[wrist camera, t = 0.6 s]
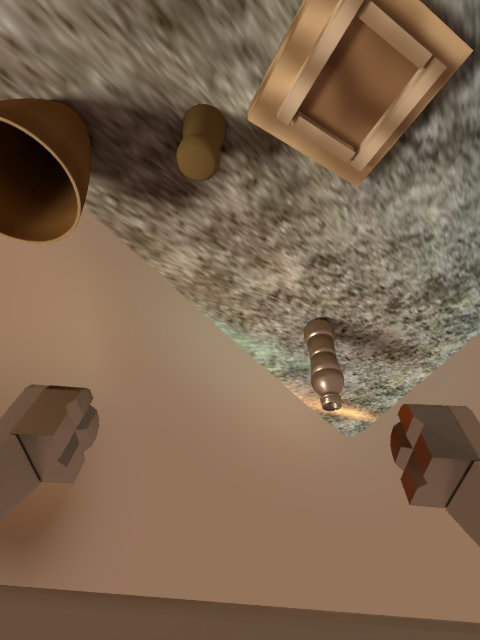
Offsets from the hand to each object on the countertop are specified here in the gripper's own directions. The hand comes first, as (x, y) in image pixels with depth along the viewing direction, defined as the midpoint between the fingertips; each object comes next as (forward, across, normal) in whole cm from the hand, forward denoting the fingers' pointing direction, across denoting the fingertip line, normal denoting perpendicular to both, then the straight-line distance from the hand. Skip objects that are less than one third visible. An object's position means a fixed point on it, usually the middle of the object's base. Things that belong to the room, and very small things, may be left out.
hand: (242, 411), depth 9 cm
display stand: (+47, -10, -9) cm, 49 cm away
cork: (+48, +8, -3) cm, 49 cm away
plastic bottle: (+60, -14, +36) cm, 71 cm away
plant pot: (+47, +28, -2) cm, 55 cm away
